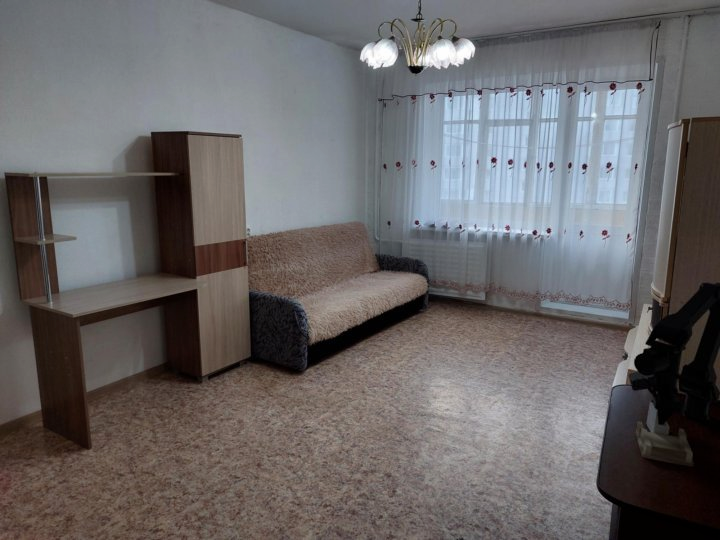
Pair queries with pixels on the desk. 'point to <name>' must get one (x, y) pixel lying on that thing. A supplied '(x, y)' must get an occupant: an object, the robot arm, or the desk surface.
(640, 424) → the slotted track
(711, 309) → the robot arm
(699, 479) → the desk surface
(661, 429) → the white wedge bracket
